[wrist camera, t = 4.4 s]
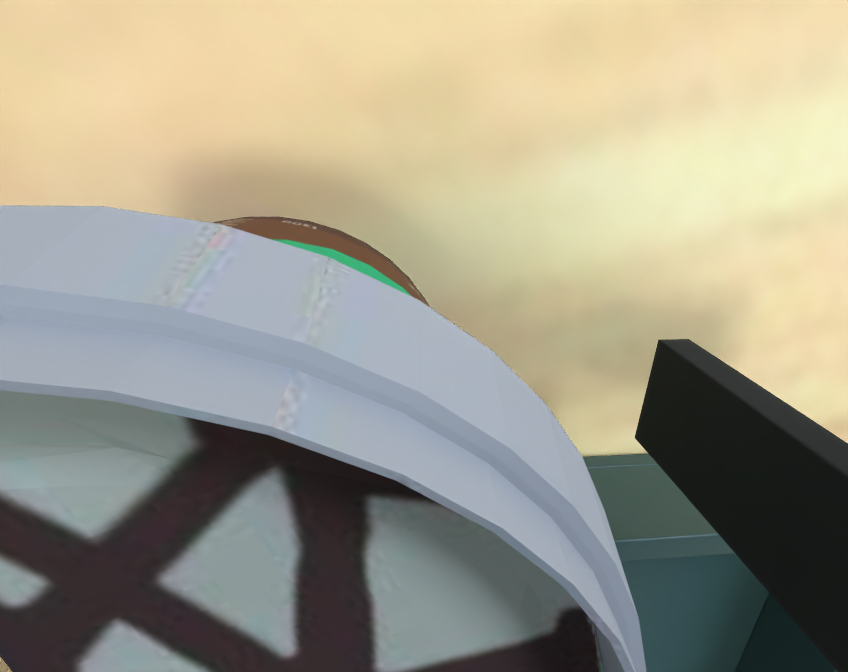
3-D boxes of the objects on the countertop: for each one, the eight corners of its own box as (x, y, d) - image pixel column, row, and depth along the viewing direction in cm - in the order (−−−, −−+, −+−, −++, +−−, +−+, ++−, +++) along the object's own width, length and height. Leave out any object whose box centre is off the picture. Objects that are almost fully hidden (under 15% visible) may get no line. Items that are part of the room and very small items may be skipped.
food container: (532, 465, 16) (755, 914, 7) (361, 531, 16) (358, 1044, 7) (391, 69, 11) (529, -211, 2) (147, 173, 11) (-773, 367, 2)
